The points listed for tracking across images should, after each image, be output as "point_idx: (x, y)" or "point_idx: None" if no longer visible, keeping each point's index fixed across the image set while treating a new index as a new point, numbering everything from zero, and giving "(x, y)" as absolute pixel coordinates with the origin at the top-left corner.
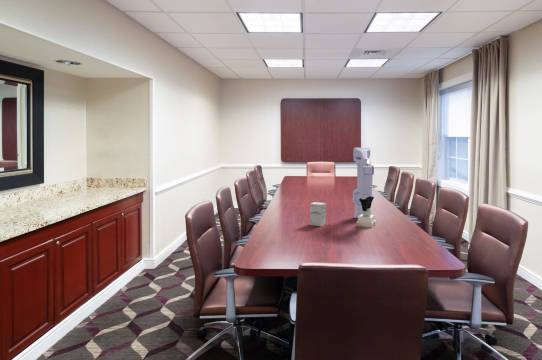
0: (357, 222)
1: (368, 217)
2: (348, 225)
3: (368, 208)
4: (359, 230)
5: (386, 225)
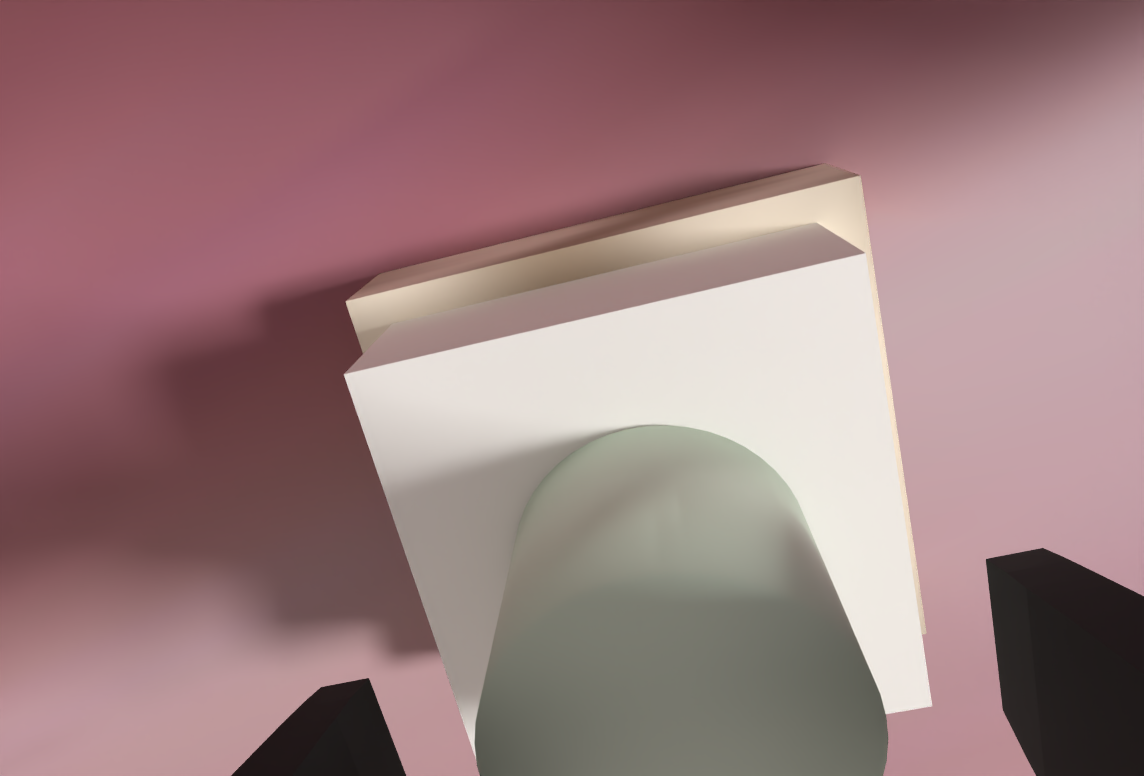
0: (357, 325)
1: (462, 710)
2: (257, 60)
3: (857, 753)
4: (34, 564)
5: (939, 768)
